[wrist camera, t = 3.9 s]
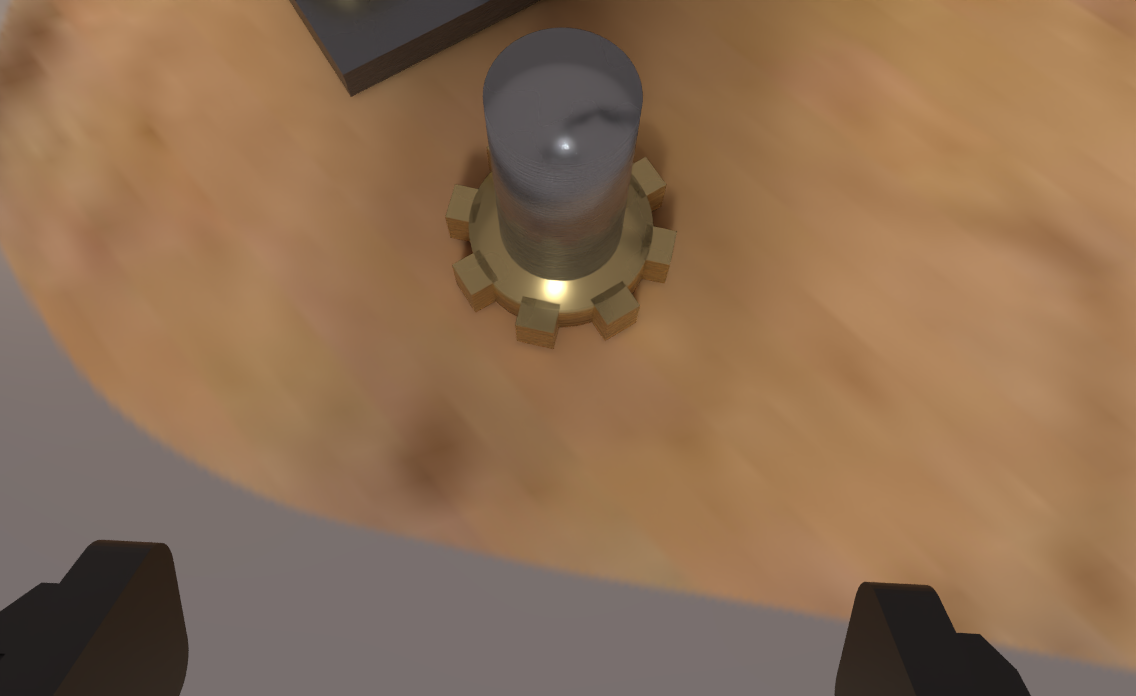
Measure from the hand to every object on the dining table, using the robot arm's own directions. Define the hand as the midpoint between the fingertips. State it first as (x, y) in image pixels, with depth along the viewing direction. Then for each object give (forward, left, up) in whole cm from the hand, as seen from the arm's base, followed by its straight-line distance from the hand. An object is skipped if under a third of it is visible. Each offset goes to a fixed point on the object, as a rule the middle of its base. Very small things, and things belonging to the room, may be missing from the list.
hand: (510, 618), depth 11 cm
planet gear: (-7, -9, -15) cm, 19 cm away
